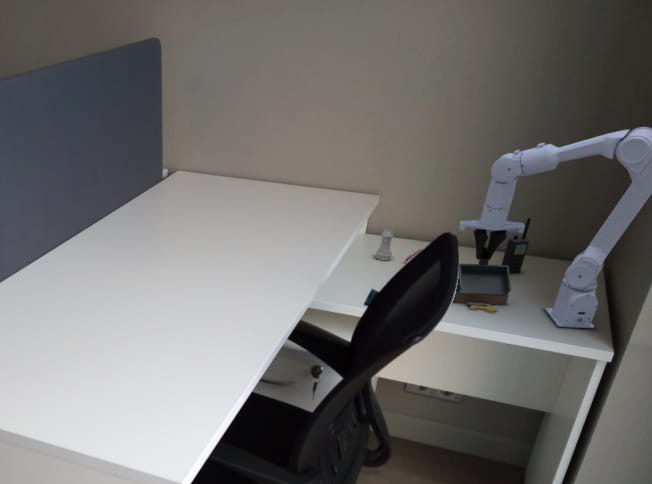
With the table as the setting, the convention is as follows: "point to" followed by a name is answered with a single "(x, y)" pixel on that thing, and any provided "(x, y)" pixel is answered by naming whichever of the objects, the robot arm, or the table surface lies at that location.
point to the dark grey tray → (484, 278)
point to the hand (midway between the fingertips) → (482, 258)
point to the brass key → (487, 308)
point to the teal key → (478, 304)
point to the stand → (480, 298)
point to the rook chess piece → (385, 246)
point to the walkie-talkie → (516, 251)
